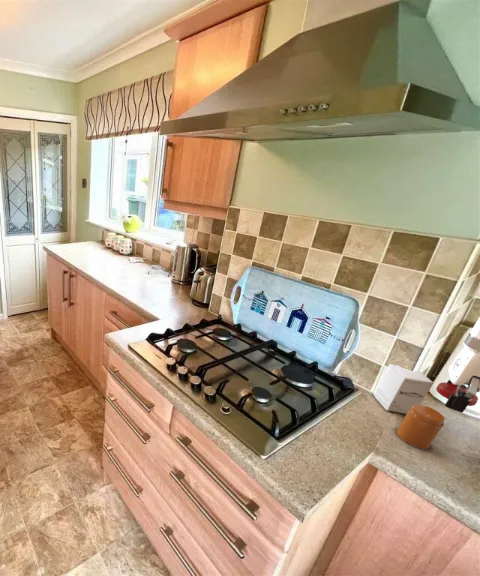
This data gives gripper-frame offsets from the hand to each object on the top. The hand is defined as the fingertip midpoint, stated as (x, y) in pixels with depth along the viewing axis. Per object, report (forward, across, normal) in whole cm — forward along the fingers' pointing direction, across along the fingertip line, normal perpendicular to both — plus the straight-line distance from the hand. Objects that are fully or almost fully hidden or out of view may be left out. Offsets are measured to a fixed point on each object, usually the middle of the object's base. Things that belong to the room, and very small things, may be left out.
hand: (451, 401), depth 82 cm
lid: (-3, 0, 0) cm, 3 cm away
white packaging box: (+12, -6, -8) cm, 16 cm away
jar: (+11, +7, -4) cm, 14 cm away
